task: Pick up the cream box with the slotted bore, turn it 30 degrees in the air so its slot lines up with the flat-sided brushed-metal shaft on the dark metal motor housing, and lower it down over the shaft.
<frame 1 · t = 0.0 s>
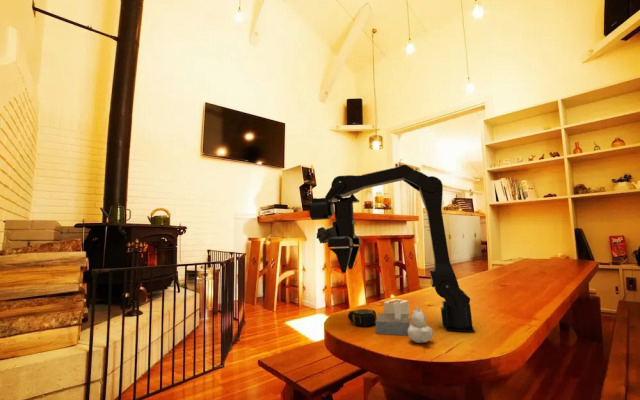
hand: (347, 270, 83), 15 cm above the table, fingers open, 9 cm apart
tape measure: (362, 324, 80), on the table
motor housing: (393, 329, 74), on the table
white rounded figure: (421, 344, 64), on the table
cream box: (397, 319, 83), on the table
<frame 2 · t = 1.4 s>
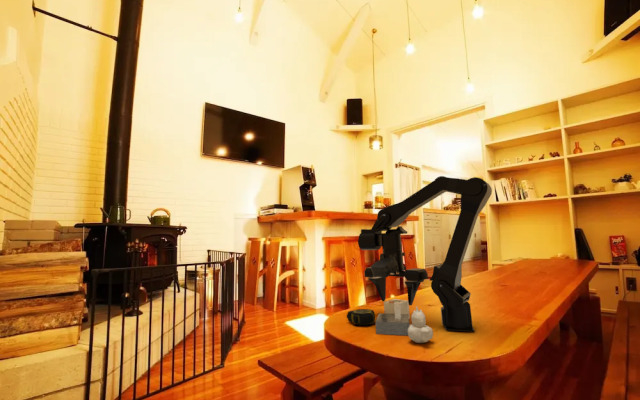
hand: (396, 303, 83), 5 cm above the table, fingers open, 9 cm apart
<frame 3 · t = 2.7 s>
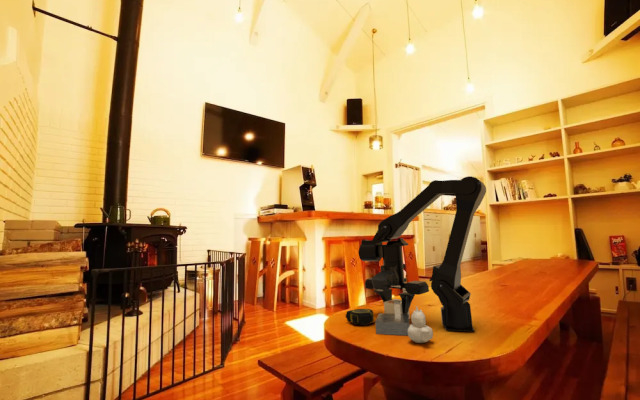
hand: (397, 315, 83), 1 cm above the table, fingers closed on cream box, 5 cm apart
cream box: (397, 319, 83), on the table, touching gripper
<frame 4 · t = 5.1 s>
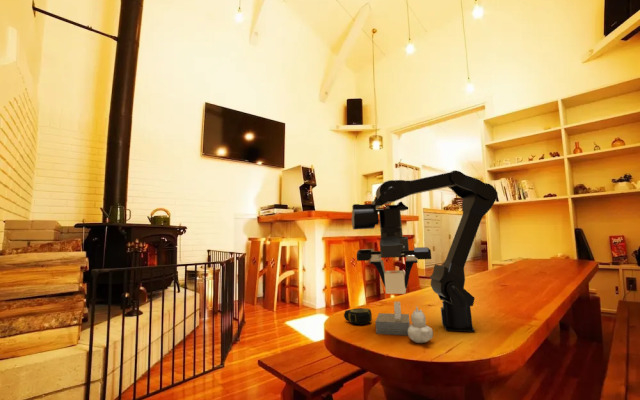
hand: (395, 287, 74), 11 cm above the table, fingers closed on cream box, 5 cm apart
cream box: (396, 291, 74), point 10 cm above the table, touching gripper
when the fingers open (5 cm above the table, at t = 7.4 s): cream box stays where it is, resting on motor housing.
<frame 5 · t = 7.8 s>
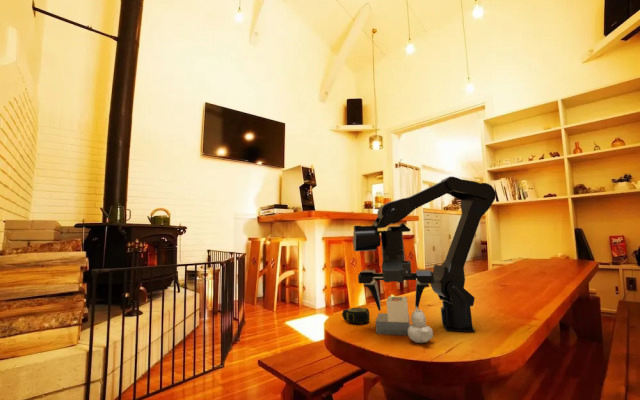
hand: (397, 310, 73), 5 cm above the table, fingers open, 9 cm apart
cream box: (398, 318, 73), point 3 cm above the table, touching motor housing
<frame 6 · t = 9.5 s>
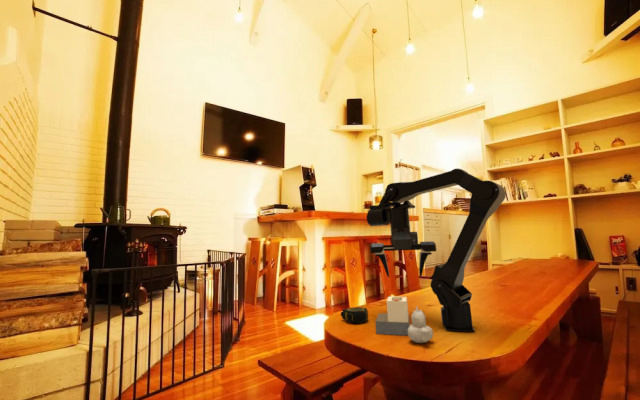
hand: (404, 276, 84), 12 cm above the table, fingers open, 9 cm apart
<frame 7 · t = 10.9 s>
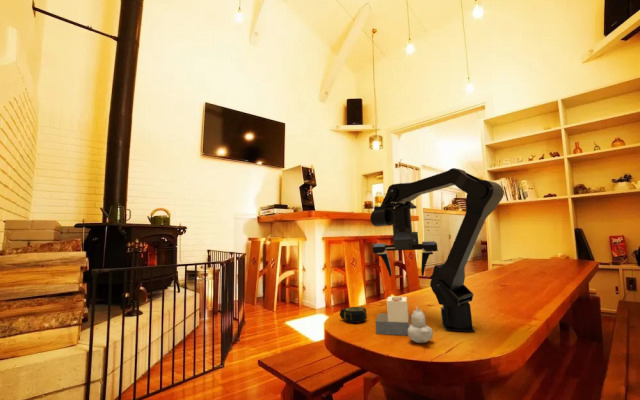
hand: (406, 276, 85), 12 cm above the table, fingers open, 9 cm apart
at the end: cream box 0.0 cm from the target spot, point 3.0 cm above the table; cream box tilted 0°; the gripper is holding nothing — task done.
